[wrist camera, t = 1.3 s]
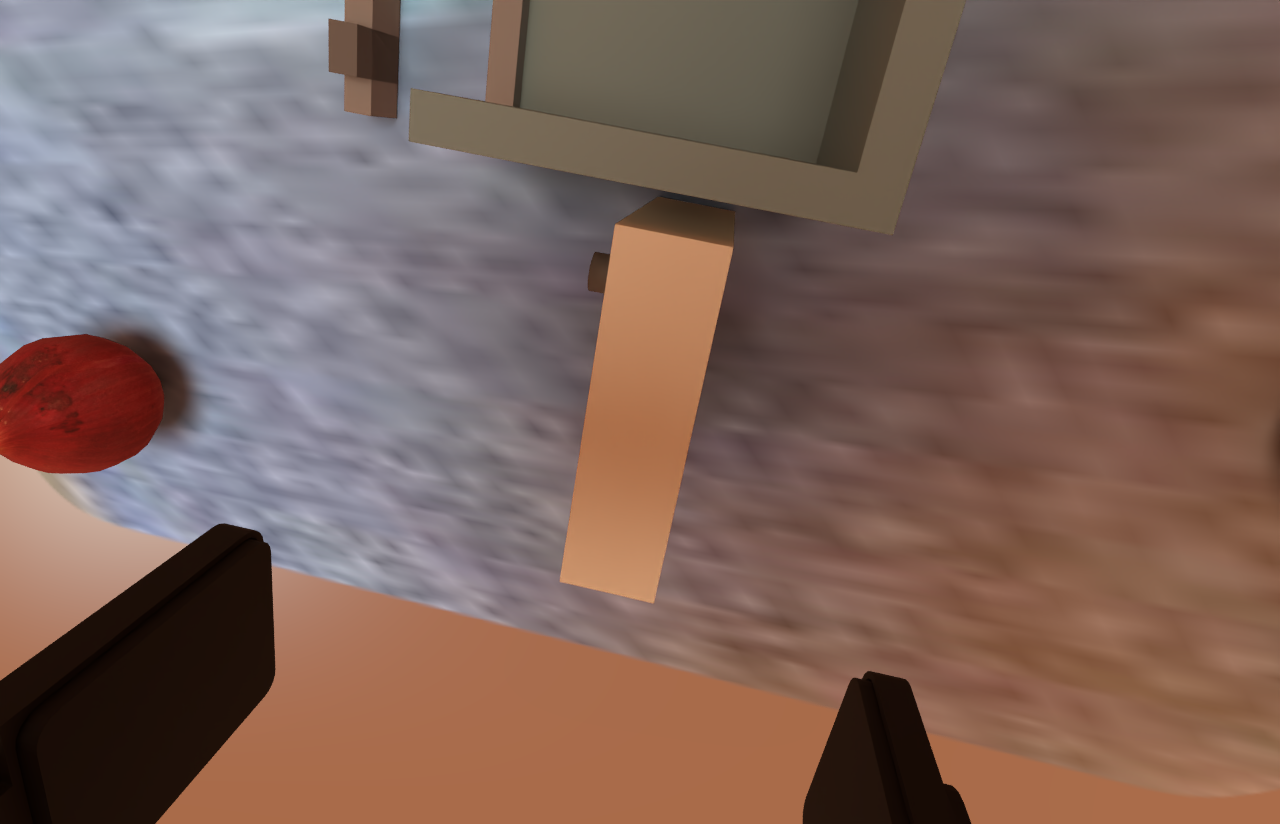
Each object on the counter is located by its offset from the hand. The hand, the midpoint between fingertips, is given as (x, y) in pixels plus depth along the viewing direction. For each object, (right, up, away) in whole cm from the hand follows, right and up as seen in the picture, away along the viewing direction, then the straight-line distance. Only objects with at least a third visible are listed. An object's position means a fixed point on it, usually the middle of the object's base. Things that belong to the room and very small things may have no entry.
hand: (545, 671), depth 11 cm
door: (+3, +7, +17) cm, 19 cm away
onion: (-22, +6, +22) cm, 31 cm away
